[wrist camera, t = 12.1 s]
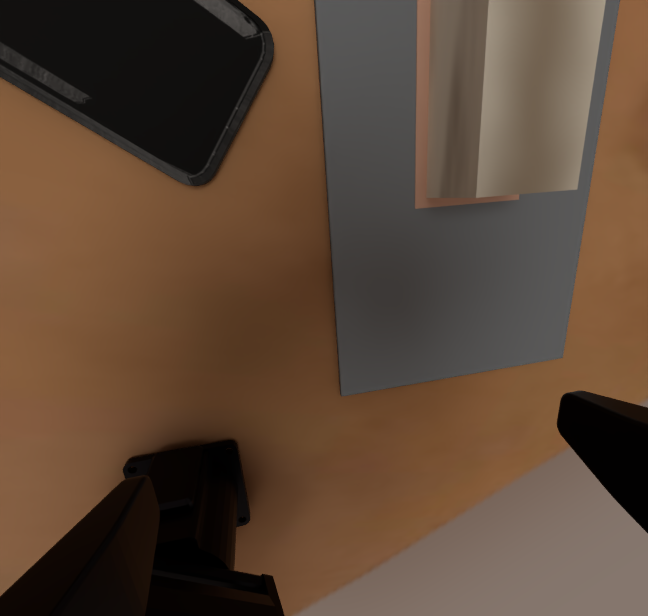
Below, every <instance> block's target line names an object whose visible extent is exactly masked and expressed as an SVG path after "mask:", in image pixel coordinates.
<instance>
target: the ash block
mask: <svg viewBox="0 0 648 616" xmlns="http://www.w3.org/2000/svg"><path fill="white" fill-rule="evenodd" d="M605 3H606V0H431V5H430V51H429V98H428V145H427V192H426V198H480V197H492V196H504V195H516V194H529V193H541V192H553V191H565V190H577V188H578V181H579V174H580V168H581V161H582V154H583V148H584V141H585V135H586V128H587V121H588V115H589V108H590V102H591V95H592V88H593V82H594V75H595V69H596V62H597V55H598V49H599V42H600V36H601V29H602V22H603V16H604V9H605Z"/></svg>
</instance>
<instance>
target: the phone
mask: <svg viewBox="0 0 648 616" xmlns="http://www.w3.org/2000/svg"><path fill="white" fill-rule="evenodd" d="M273 54H274V43H273V38H272V34H271V32H270V31H269V29H268V27H267V25H266V24H265V23H264V22H263V21H262V20H261V19H260V18H259V17H258V16H257V15H255V14H254V13H253V12H252V11H250V10H249V9H248V8H247V7H245V6H244V5H243V4H242V3H240V2H239V1H238V0H0V77H1V78H3V79H5V80H6V81H8V82H10V83H12V84H13V85H15V86H17V87H18V88H20V89H22V90H23V91H25V92H27V93H29V94H30V95H32V96H34V97H35V98H37V99H39V100H41V101H42V102H44V103H46V104H47V105H49V106H51V107H53V108H54V109H56V110H58V111H59V112H61V113H63V114H64V115H66V116H68V117H70V118H71V119H73V120H75V121H76V122H78V123H80V124H82V125H83V126H85V127H87V128H88V129H90V130H92V131H94V132H95V133H97V134H99V135H100V136H102V137H104V138H106V139H107V140H109V141H111V142H112V143H114V144H116V145H117V146H119V147H121V148H123V149H124V150H126V151H128V152H129V153H131V154H133V155H135V156H136V157H138V158H140V159H141V160H143V161H145V162H147V163H148V164H150V165H152V166H153V167H155V168H157V169H158V170H160V171H162V172H164V173H165V174H167V175H169V176H170V177H172V178H174V179H176V180H177V181H179V182H181V183H184V184H186V185H192V186H199V185H204V184H206V183H208V182H209V181H211V180H212V178H213V177H214V176H215V174H216V173H217V171H218V169H219V167H220V165H221V164H220V163H222V161H223V159H224V157H225V155H226V153H227V151H228V149H229V147H230V145H231V143H232V141H233V139H234V137H235V136H236V134H237V132H238V130H239V128H240V126H241V124H242V122H243V120H244V118H245V116H246V114H247V112H248V110H249V108H250V106H251V104H252V102H253V101H254V99H255V97H256V95H257V93H258V91H259V89H260V87H261V85H262V83H263V81H264V79H265V77H266V75H267V73H268V71H269V69H270V67H271V64H272V61H273Z"/></svg>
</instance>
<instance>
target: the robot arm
mask: <svg viewBox="0 0 648 616" xmlns="http://www.w3.org/2000/svg"><path fill="white" fill-rule="evenodd" d="M557 428H558V431H559V432H560V434H561V436H562V437H563V438H564V439H565V440H566V442H567V443H568V444H569V445H570V446H571V448H572V449H573V450H574V451H575V452H576V454H577V455H578V456H579V457H580V458H581V460H582V461H583V462H584V463H585V464H586V466H587V467H588V468H589V469H590V470H591V472H592V473H593V474H594V475H595V476H596V478H597V479H598V480H599V481H600V483H601V484H602V485H603V486H604V487H605V488H606V490H607V491H608V492H609V493H610V494H611V495H612V496H613V498H614V499H615V500H616V501H617V502H618V503H619V504H620V505H621V506H622V507H623V508H624V509H625V510H626V511H627V512H628V514H629V515H630V516H631V517H633V519H634V520H635V521H636V522H637V523H638V524H639V525H640V526H641V527H642V528H643V529H644V530H645V531H646V532H647V533H648V408H647V407H643V406H639V405H635V404H632V403H628V402H624V401H620V400H616V399H613V398H609V397H605V396H601V395H597V394H594V393H590V392H586V391H575V392H570V393H566V394H564V395H563V396H562V398H561V401H560V407H559V413H558V419H557ZM227 448H232V450H226V449H227ZM131 466H134V467H136V468H131ZM123 473H124V476H125V480H123V481H122V482H121V483H120V484H119V485H118V486H116V487H115V488H114V489H113V490H112V491H111V492H110V493H109V494H108V495H107V496H106V497H105V498H104V499H103V500H102V501H101V502H100V503H98V504H97V505H96V506H95V507H94V508H93V509H92V510H91V511H90V512H89V513H88V514H87V515H86V516H85V517H84V518H83V519H82V520H81V521H79V522H78V523H77V524H76V525H75V526H74V527H73V528H72V529H71V530H70V531H69V532H68V533H67V534H66V535H65V536H64V537H63V538H62V539H60V540H59V541H58V542H57V543H56V544H55V545H54V546H53V547H52V548H51V549H50V550H49V551H48V552H47V553H46V554H45V555H44V556H42V557H41V558H40V559H39V560H38V561H37V562H36V563H35V564H34V565H33V566H32V567H31V568H30V569H29V570H28V571H27V572H26V573H25V574H23V575H22V576H21V577H20V578H19V579H18V580H17V581H16V582H15V583H14V584H13V585H12V586H11V587H10V588H9V589H8V590H7V591H5V592H4V593H3V594H2V595H1V596H0V616H284V613H283V609H282V606H281V602H280V599H279V596H278V592H277V589H276V585H275V582H274V579H273V576H271V575H266V574H262V575H261V576H259V575H254V574H248V573H243V572H238V571H234V563H235V543H236V527H238V526H243V525H246V524H247V523H249V521H250V509H249V504H248V498H247V493H246V488H245V482H244V477H243V471H242V466H241V460H240V455H239V450H238V445H237V443H236V442H235V441H232V440H227V441H222V442H216V443H211V444H206V445H200V446H193V447H188V448H182V449H177V450H172V451H166V452H161V453H157V454H152V455H146V456H141V457H136V458H131V459H129V460H128V461H127V462H126V464H125V466H124V468H123Z"/></svg>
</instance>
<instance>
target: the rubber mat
mask: <svg viewBox="0 0 648 616" xmlns="http://www.w3.org/2000/svg"><path fill="white" fill-rule="evenodd" d="M619 3H620V0H606V3H605V9H604V16H603V22H602V29H601V36H600V42H599V49H598V55H597V62H596V69H595V75H594V82H593V88H592V95H591V102H590V108H589V115H588V121H587V128H586V135H585V141H584V148H583V154H582V161H581V168H580V174H579V181H578V188H577V190H565V191H553V192H541V193H529V194H516V195H504V196H492V197H480V198H426V192H427V145H428V98H429V51H430V5H431V0H314V4H315V19H316V34H317V49H318V64H319V79H320V94H321V109H322V124H323V139H324V154H325V169H326V184H327V199H328V214H329V229H330V244H331V259H332V274H333V289H334V304H335V319H336V334H337V349H338V364H339V379H340V394H341V396H347V395H353V394H359V393H364V392H370V391H376V390H381V389H387V388H393V387H399V386H404V385H410V384H416V383H422V382H427V381H433V380H439V379H444V378H450V377H456V376H462V375H467V374H473V373H479V372H484V371H490V370H496V369H502V368H507V367H513V366H519V365H524V364H530V363H536V362H542V361H547V360H553V359H559V358H563V352H564V345H565V339H566V333H567V327H568V320H569V314H570V308H571V302H572V296H573V289H574V283H575V277H576V271H577V264H578V258H579V252H580V246H581V239H582V233H583V227H584V221H585V215H586V208H587V202H588V196H589V190H590V183H591V177H592V171H593V165H594V158H595V152H596V146H597V140H598V133H599V127H600V121H601V115H602V109H603V102H604V96H605V90H606V84H607V77H608V71H609V65H610V59H611V52H612V46H613V40H614V34H615V28H616V21H617V15H618V9H619Z"/></svg>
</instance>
